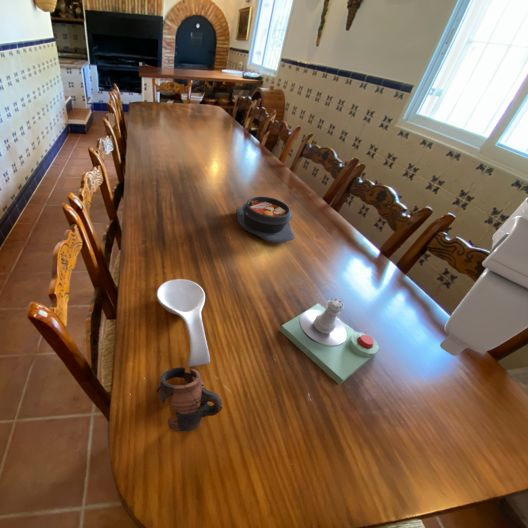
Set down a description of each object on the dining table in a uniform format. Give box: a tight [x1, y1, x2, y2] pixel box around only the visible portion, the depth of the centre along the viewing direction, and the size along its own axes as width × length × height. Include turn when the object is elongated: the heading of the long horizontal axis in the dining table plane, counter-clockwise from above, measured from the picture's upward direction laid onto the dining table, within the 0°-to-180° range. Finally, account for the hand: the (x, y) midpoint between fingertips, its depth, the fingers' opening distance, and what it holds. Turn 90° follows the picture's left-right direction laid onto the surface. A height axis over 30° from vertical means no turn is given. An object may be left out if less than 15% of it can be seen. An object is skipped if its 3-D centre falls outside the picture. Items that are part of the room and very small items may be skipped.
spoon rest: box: [156, 278, 211, 368], centre depth 68 cm, size 24×12×7 cm, turn 14°
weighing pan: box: [299, 310, 346, 347], centre depth 67 cm, size 10×10×1 cm
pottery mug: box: [156, 366, 224, 433], centre depth 54 cm, size 12×10×8 cm
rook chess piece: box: [313, 297, 345, 333], centre depth 64 cm, size 4×4×8 cm
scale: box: [279, 303, 380, 386], centre depth 67 cm, size 16×14×4 cm
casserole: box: [235, 195, 296, 244], centre depth 104 cm, size 25×19×8 cm
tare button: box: [358, 334, 374, 349], centre depth 64 cm, size 3×3×2 cm
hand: (463, 332), depth 37 cm, fingers open, 8 cm apart
